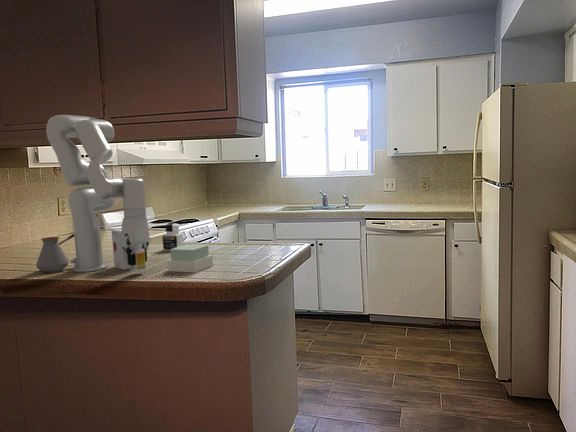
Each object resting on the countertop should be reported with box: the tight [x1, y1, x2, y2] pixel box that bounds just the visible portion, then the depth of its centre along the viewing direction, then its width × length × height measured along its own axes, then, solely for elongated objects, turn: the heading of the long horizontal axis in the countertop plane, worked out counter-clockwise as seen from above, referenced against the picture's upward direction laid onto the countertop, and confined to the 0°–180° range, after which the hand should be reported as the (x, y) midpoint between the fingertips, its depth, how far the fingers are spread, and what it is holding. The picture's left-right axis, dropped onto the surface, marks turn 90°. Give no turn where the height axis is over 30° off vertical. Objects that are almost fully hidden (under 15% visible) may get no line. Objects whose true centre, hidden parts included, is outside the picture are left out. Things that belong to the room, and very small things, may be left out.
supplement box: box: [111, 227, 132, 271], centre depth 195 cm, size 9×9×15 cm
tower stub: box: [166, 244, 214, 273], centre depth 187 cm, size 12×12×8 cm
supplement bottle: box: [129, 244, 147, 272], centre depth 180 cm, size 5×5×10 cm
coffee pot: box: [35, 233, 74, 273], centre depth 197 cm, size 21×12×15 cm, turn 143°
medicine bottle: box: [162, 223, 185, 252], centre depth 232 cm, size 7×7×12 cm
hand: (137, 262), depth 180 cm, fingers closed on supplement bottle, 5 cm apart
